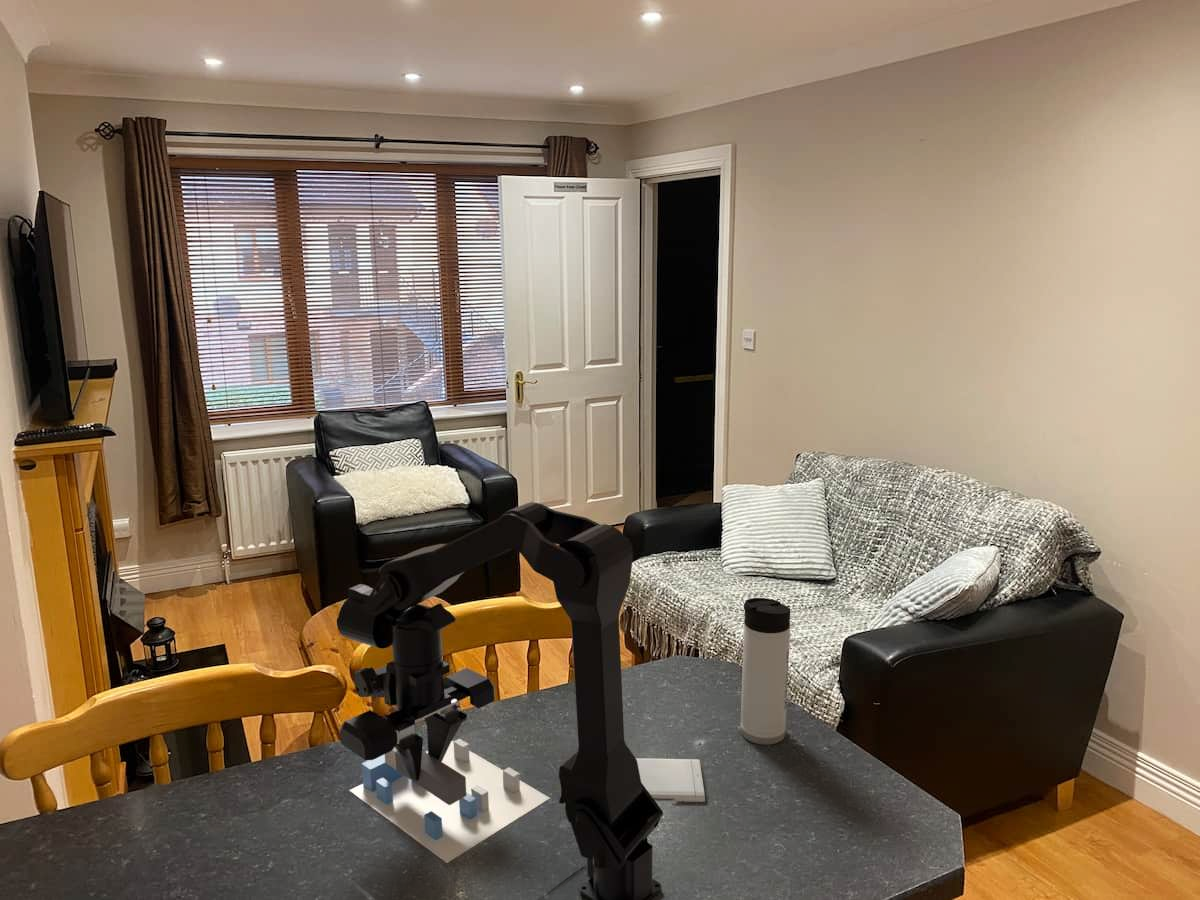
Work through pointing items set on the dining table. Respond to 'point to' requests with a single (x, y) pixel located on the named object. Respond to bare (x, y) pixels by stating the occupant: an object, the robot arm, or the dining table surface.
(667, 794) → the hard drive
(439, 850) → the board
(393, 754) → the dark grey bar
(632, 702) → the dining table surface
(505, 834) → the dining table surface
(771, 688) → the travel mug
